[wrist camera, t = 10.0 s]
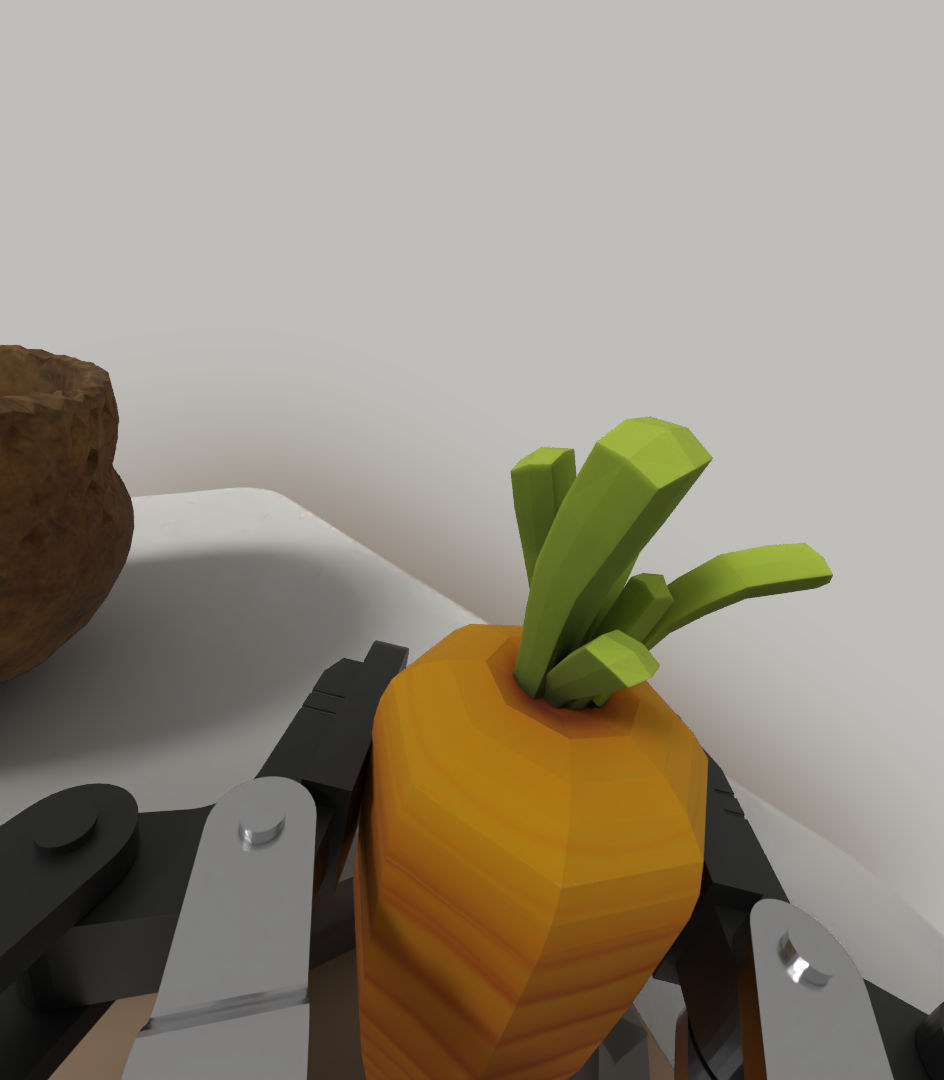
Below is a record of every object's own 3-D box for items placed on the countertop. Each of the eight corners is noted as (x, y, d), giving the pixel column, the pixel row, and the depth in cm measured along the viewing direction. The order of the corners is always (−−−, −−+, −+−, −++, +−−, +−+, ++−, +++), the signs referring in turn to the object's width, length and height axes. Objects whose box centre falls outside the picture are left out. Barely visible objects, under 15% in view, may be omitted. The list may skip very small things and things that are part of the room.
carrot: (443, 913, 14) (604, 399, 8) (570, 1125, 10) (974, 491, 5) (269, 1043, 10) (349, 341, 5) (370, 1413, 7) (903, 493, 2)
